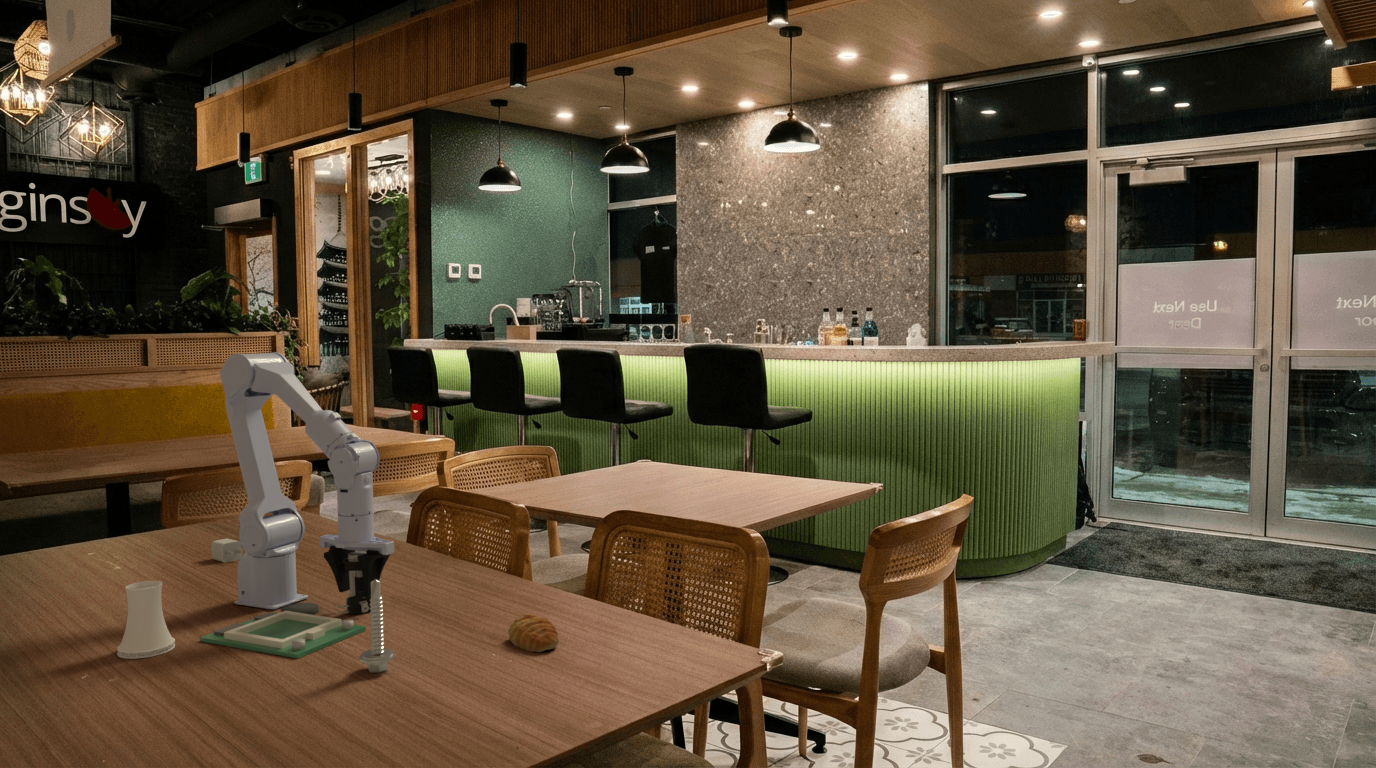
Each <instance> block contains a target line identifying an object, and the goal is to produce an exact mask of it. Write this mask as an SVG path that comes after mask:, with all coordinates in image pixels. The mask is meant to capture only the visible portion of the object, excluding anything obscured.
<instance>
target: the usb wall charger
mask: <svg viewBox="0 0 1376 768" xmlns="http://www.w3.org/2000/svg"><path fill="white" fill-rule="evenodd" d="M210 545H211V548H210V549H211V559H212V560H215V561H218V562H221V563H230V562H234V561H238V560H239V561H240V559H241V557H242V555H244V550H242V545H241V542H240V540H235V539H230V538H223V539H218V540H217V539H216V540H213V541H212V542H211V544H210Z"/></svg>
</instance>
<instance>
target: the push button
mask: <svg viewBox="0 0 1376 768" xmlns="http://www.w3.org/2000/svg"><path fill="white" fill-rule="evenodd" d="M363 554H367V552H365V551H355V552H351V553H349V554H348V558H346V559H344V560H343V563H344V564H345V569H346V570H347V571H349V581H350V590H349V593H348V596H347V597H346V598H345V605H340V606H338V607H337V609H341V608H345V609H346V610H343V611H338V612H337V613H338V614H343V613H348V614H349V615H357V614H361V613H362V614H363V613H367V612H371V609H369V608H371V605H369V604H370V603H371V601H370V599H371V595H370V596H365V593H364V585H363V574H362V570H361V566H360V563H359V561H358V559H357V556H360V555H363Z"/></svg>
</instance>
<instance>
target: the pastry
mask: <svg viewBox="0 0 1376 768" xmlns="http://www.w3.org/2000/svg"><path fill="white" fill-rule="evenodd" d="M507 634H508V638H509V640H510V642H511V643H512V644H513V646H516V647H517V648H520V649H523V650H524V651H528V652H531V653H532V652H536V653H543V652H544V651H547V650H553V649H556V647H557V645H558V644H559V642H560V641H559V634H558V632H557V629H556V627H555V625H554V624H553V623H552V622H551V621H550V620H548V619H547V618H546V617H541V616H540V617H539V615H535V614H531V613H528V614H523V615H521V616H520V617H518V618H515V620H514V621H513V622H512V623H511V624H510V626H509V629H508V632H507Z"/></svg>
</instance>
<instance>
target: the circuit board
mask: <svg viewBox="0 0 1376 768" xmlns="http://www.w3.org/2000/svg"><path fill="white" fill-rule="evenodd" d="M366 627H367V626H364V625H359V624H358V625H357V624H355V623H354V619H344V620H342V619H341V618H336V617H329V616H323V615H318V614H315V615H311V614H304V613H298V612H291V611H283V612H281V611H280V612H276V611H275V612H274V611H273V612H266V613H263V614H261V615H257V616H254V618H253V619H249V620H247V621H243V622H240V623H239V622H238V623H233V624H230V625H228V626H225V627H222V628H219V629H217V630H214V631H213V632H212V633H208V634H206V635H203V636H201V637H199V640H200V642H201V643H202V642H203V643H209V644H215V645H220V646H225V647H230V648H235V649H236V648H237V649H243V650H246V651H248V650H249V651H253V652H258V653H259V652H260V653H263V654H264V653H265V654H271V655H277V656H282V657H286V658H287V657H288V658H293V659H300V658H303V657H305V656H307V655H309V654H312V653H314V652H317V651H319V650H322V649H324V648H326V647H329V646H332V645H334V644H336V643H338V642H341V641H343V640H345V639H348V638H350V637H353V636H355V635H358V634H360V633H362V632H364V631H366V630H367V629H366Z"/></svg>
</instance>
